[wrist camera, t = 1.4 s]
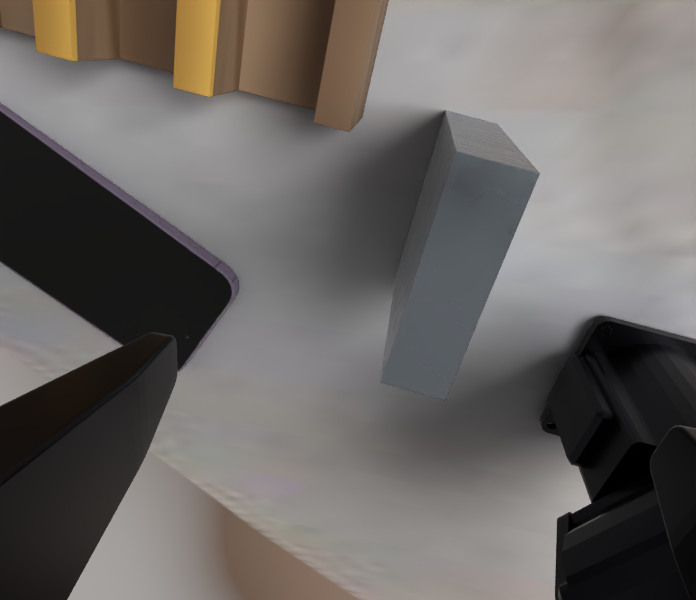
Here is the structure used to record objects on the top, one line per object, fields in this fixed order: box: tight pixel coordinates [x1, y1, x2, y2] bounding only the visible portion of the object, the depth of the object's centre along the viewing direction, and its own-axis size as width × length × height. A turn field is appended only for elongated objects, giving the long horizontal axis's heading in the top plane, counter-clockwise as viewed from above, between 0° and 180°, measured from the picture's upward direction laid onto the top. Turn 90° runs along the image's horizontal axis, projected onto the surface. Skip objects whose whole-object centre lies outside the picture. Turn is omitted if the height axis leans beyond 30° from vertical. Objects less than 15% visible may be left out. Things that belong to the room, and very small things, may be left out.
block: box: [381, 110, 540, 400], centre depth 17 cm, size 2×7×8 cm, turn 167°
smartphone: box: [0, 103, 239, 372], centre depth 23 cm, size 7×1×15 cm
